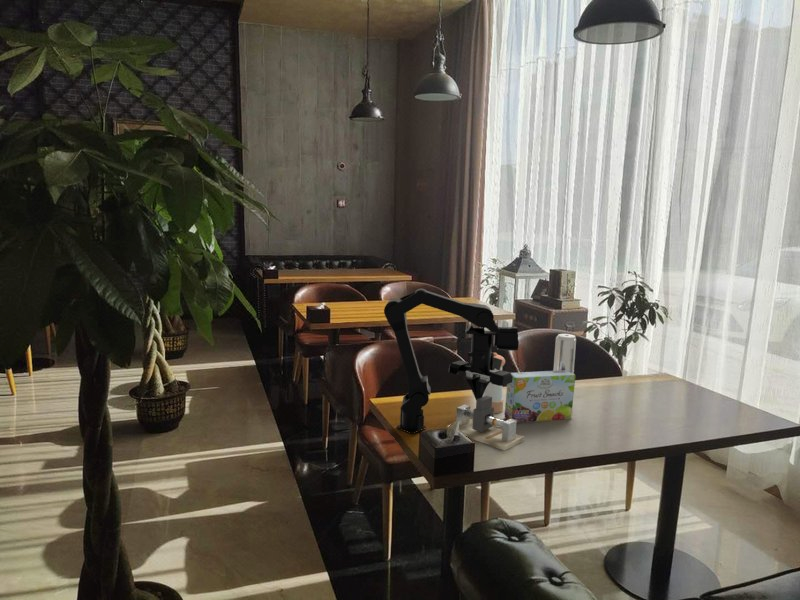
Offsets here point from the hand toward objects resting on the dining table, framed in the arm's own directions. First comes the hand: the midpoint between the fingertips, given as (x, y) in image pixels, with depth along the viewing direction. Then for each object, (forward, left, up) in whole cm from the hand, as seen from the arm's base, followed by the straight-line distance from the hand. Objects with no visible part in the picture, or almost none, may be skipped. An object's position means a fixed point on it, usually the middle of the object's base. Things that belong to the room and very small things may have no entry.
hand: (478, 401), depth 164 cm
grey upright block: (+2, 0, -8) cm, 8 cm away
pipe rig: (+3, 0, -8) cm, 9 cm away
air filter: (+7, +39, -10) cm, 41 cm away
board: (+3, 0, -10) cm, 10 cm away
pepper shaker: (-8, +20, -10) cm, 24 cm away
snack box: (+7, +24, -10) cm, 27 cm away
